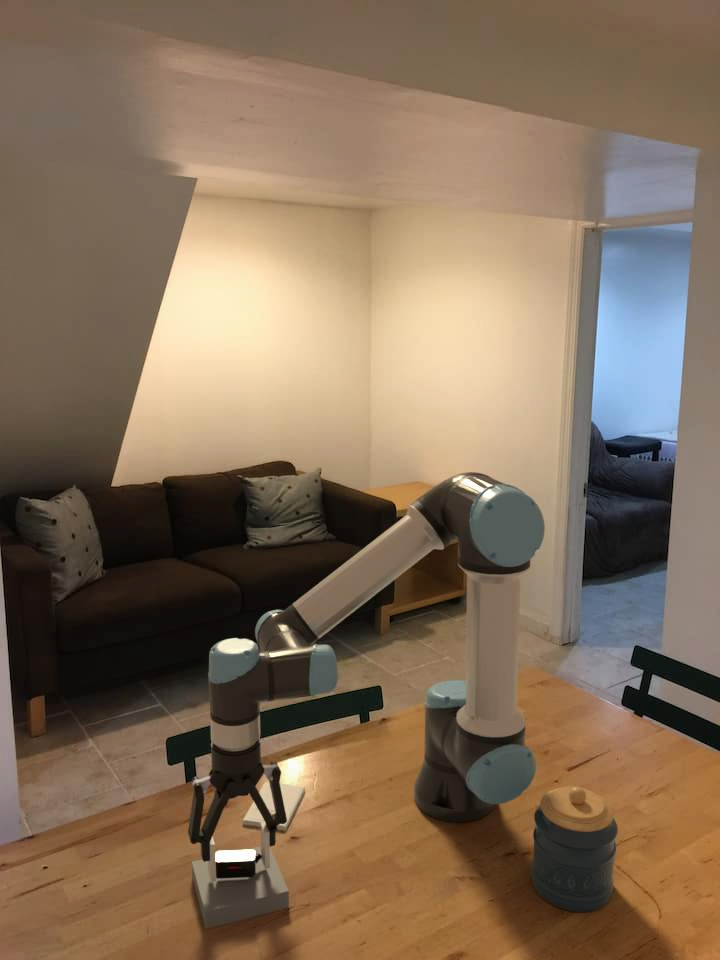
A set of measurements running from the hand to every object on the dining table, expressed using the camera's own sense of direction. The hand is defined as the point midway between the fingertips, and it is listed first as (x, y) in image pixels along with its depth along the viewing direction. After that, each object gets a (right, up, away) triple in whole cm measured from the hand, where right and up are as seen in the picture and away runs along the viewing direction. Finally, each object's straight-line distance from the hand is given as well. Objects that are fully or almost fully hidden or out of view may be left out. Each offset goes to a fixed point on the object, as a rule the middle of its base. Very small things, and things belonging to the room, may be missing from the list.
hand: (239, 869), depth 131 cm
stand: (0, -4, +1) cm, 4 cm away
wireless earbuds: (0, 0, 0) cm, 0 cm away
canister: (+54, -4, +3) cm, 54 cm away
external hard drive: (+3, 0, +23) cm, 24 cm away
